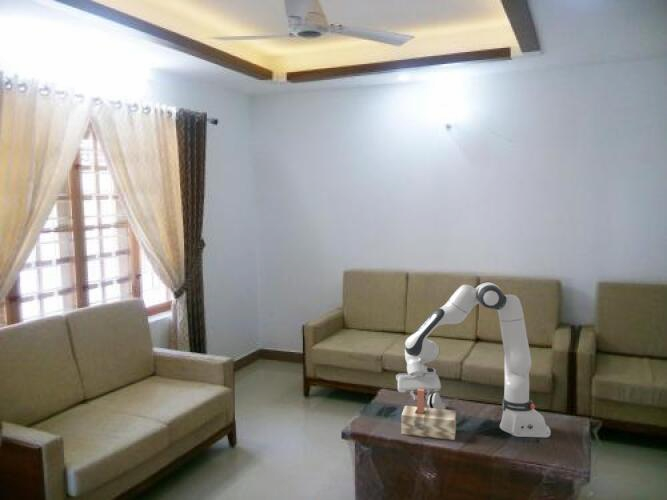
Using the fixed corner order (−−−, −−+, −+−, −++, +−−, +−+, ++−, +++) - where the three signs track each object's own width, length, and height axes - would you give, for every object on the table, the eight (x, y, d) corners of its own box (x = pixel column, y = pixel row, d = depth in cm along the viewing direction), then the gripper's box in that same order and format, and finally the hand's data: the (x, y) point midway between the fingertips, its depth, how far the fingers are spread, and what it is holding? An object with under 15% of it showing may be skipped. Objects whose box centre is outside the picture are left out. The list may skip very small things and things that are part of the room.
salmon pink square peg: (424, 418, 262) (424, 388, 260) (423, 420, 259) (423, 391, 257) (417, 417, 262) (418, 388, 261) (417, 419, 259) (417, 390, 258)
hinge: (441, 418, 275) (434, 399, 275) (432, 420, 276) (425, 401, 277) (446, 406, 291) (439, 388, 291) (437, 408, 292) (431, 390, 292)
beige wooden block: (455, 429, 263) (456, 410, 262) (454, 440, 251) (454, 420, 250) (404, 423, 269) (405, 405, 268) (401, 434, 257) (401, 415, 256)
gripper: (396, 370, 265) (399, 397, 256) (438, 368, 266) (443, 396, 257) (394, 376, 270) (398, 403, 261) (436, 375, 271) (441, 402, 262)
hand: (421, 399), depth 259 cm, fingers closed on salmon pink square peg, 4 cm apart
